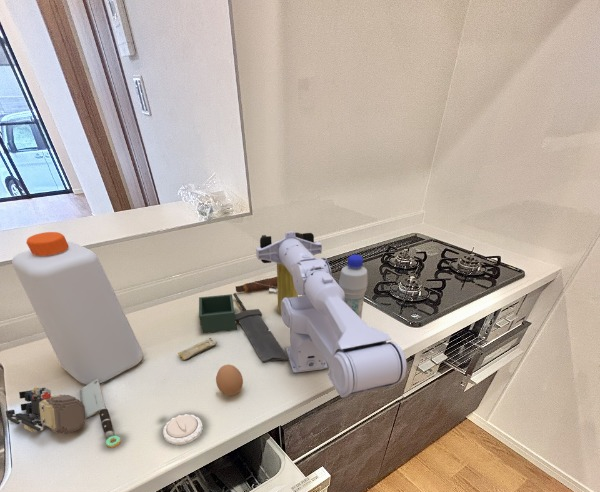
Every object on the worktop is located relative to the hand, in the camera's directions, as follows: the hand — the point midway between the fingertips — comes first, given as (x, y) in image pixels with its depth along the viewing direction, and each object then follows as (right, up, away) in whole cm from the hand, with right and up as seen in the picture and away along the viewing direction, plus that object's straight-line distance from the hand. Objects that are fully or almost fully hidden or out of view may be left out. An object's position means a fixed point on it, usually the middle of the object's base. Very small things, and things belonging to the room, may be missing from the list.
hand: (279, 238), depth 82 cm
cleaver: (-38, -42, -13) cm, 58 cm away
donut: (-26, -45, -16) cm, 54 cm away
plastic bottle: (-41, -30, -1) cm, 50 cm away
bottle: (+17, -21, +9) cm, 28 cm away
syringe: (-5, -5, +24) cm, 24 cm away
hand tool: (+10, +1, +28) cm, 30 cm away
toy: (-50, -38, -13) cm, 64 cm away
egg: (-10, -37, -8) cm, 39 cm away
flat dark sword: (-7, -19, +11) cm, 23 cm away
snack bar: (-20, -26, +3) cm, 33 cm away
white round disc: (-17, -44, -16) cm, 50 cm away
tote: (-17, -17, +13) cm, 27 cm away
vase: (+2, -13, +17) cm, 22 cm away
